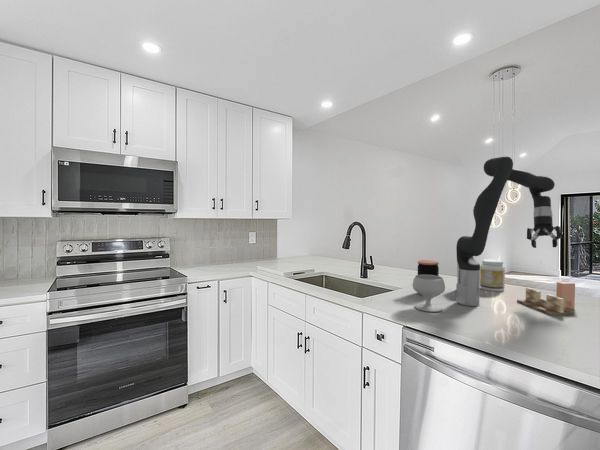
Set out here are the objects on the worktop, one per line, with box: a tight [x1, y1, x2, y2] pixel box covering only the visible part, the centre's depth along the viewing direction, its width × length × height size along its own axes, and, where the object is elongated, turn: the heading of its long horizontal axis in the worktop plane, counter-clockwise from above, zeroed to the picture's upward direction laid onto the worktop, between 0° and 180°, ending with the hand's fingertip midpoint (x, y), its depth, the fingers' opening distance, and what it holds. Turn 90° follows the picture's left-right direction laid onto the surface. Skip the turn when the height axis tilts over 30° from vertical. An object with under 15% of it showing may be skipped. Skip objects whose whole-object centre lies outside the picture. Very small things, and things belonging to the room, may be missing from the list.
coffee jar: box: [417, 259, 440, 296], centre depth 166 cm, size 11×11×18 cm
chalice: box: [412, 274, 446, 313], centre depth 141 cm, size 14×14×15 cm
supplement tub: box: [480, 258, 506, 293], centre depth 176 cm, size 12×12×17 cm
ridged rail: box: [516, 287, 574, 316], centre depth 141 cm, size 20×10×7 cm, turn 1°
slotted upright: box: [555, 281, 576, 310], centre depth 141 cm, size 3×6×12 cm, turn 91°
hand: (544, 247), depth 154 cm, fingers open, 8 cm apart
